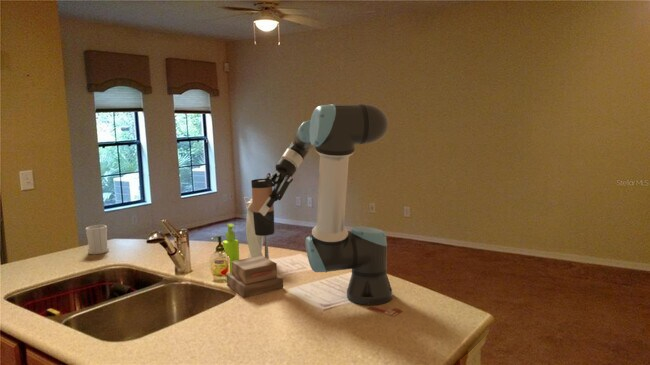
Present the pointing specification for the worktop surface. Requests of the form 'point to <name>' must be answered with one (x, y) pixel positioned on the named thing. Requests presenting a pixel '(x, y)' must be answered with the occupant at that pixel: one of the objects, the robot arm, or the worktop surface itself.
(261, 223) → the travel mug
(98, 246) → the cup
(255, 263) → the stack of brown boxes
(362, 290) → the robot arm
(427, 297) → the worktop surface
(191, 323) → the worktop surface
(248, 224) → the white twisted vase
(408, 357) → the worktop surface
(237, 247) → the soap dispenser
